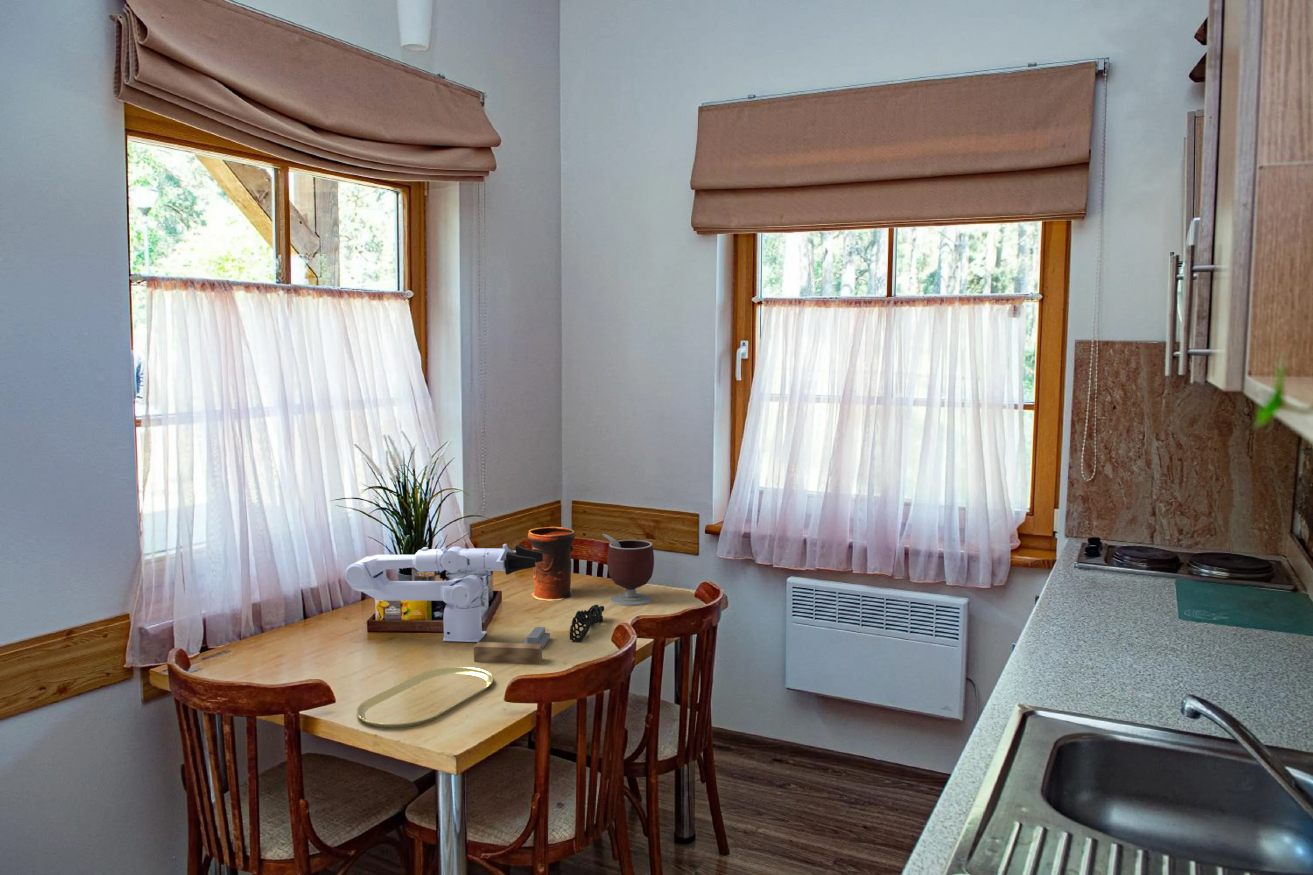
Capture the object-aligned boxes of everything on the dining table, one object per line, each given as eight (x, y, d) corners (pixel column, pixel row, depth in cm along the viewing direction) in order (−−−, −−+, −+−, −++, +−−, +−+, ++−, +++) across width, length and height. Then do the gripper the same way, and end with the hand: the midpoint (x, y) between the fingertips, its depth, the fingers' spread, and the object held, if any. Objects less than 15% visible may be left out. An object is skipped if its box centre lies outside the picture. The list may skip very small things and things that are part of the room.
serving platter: (337, 721, 196) (336, 714, 196) (443, 668, 228) (443, 662, 227) (409, 737, 188) (409, 729, 188) (509, 680, 220) (509, 673, 219)
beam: (474, 662, 231) (473, 646, 231) (478, 657, 235) (477, 641, 235) (539, 664, 230) (538, 648, 230) (542, 659, 233) (542, 643, 233)
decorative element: (585, 644, 245) (585, 622, 244) (566, 643, 246) (566, 620, 245) (606, 619, 267) (606, 599, 266) (589, 618, 268) (589, 597, 267)
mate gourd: (657, 594, 291) (657, 530, 289) (650, 607, 278) (650, 539, 276) (607, 593, 293) (607, 529, 291) (598, 605, 280) (597, 538, 278)
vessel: (523, 590, 297) (524, 526, 295) (568, 587, 301) (569, 525, 299) (531, 602, 283) (532, 536, 281) (578, 599, 287) (579, 534, 285)
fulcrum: (522, 648, 241) (522, 637, 240) (531, 637, 250) (530, 626, 249) (542, 649, 240) (542, 637, 240) (549, 638, 249) (549, 627, 249)
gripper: (478, 549, 239) (530, 549, 238) (495, 539, 254) (545, 539, 252) (479, 577, 240) (531, 577, 238) (496, 565, 254) (546, 565, 252)
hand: (538, 559), depth 245 cm, fingers open, 7 cm apart
